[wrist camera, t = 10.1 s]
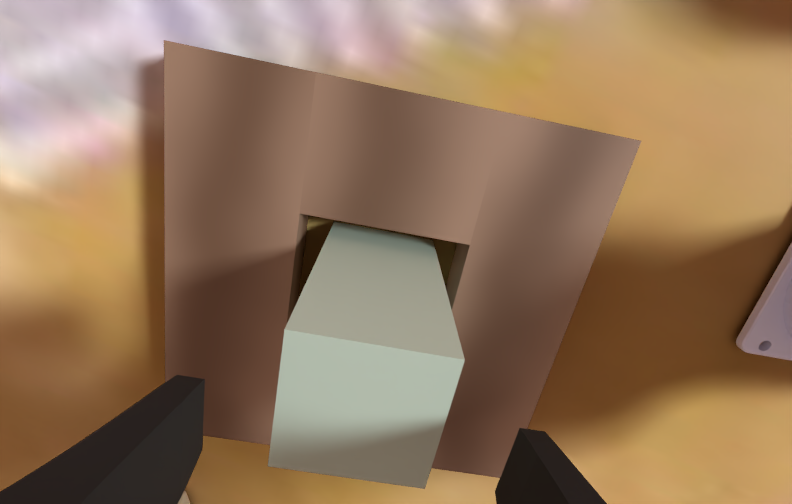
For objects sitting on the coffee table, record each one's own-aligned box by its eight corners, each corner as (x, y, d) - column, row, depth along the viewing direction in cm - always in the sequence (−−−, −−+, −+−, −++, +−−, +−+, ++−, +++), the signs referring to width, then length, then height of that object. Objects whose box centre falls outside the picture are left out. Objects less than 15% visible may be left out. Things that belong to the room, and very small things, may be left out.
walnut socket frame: (610, 135, 15) (641, 140, 13) (496, 443, 20) (507, 478, 19) (194, 47, 14) (164, 40, 12) (187, 397, 19) (165, 430, 17)
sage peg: (433, 240, 17) (464, 359, 9) (411, 325, 18) (424, 489, 11) (334, 221, 16) (284, 329, 9) (320, 309, 18) (267, 466, 10)
